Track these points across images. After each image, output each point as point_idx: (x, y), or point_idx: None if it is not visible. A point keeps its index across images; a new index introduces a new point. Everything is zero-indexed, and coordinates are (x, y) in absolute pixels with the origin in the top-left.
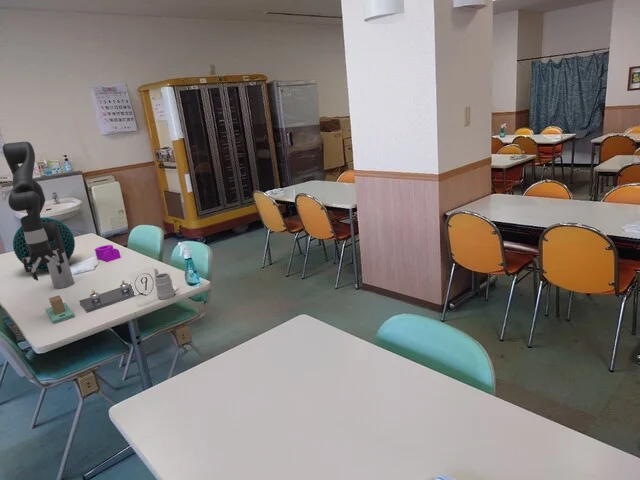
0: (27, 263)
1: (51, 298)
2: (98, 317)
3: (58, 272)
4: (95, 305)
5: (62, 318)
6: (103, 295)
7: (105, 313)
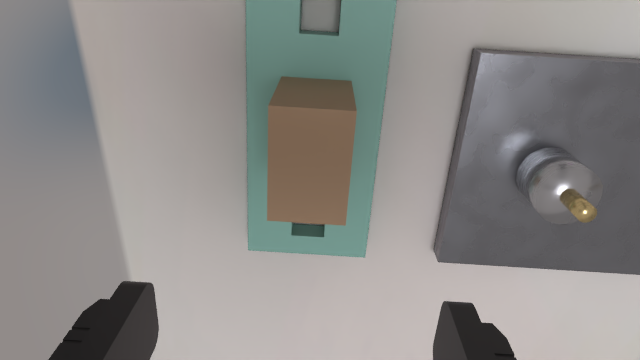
0: None
1: (285, 134)
2: None
3: (442, 335)
4: (498, 252)
5: (300, 250)
6: (630, 127)
7: None
